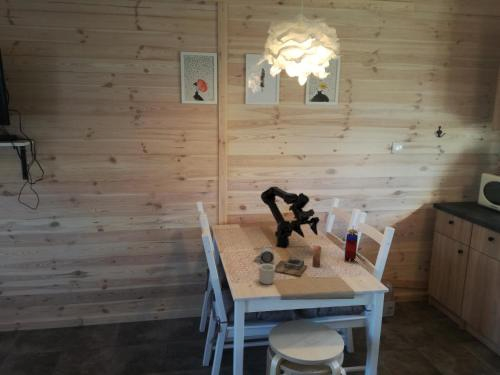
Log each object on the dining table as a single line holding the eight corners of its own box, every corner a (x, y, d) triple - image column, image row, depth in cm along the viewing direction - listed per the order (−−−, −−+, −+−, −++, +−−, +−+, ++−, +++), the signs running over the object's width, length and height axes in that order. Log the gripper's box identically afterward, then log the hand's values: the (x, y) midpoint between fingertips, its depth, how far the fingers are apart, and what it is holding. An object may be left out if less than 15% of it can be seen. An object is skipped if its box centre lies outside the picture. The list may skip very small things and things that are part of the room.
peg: (311, 266, 214) (312, 247, 212) (313, 264, 218) (314, 245, 215) (318, 268, 212) (320, 248, 210) (320, 265, 216) (321, 246, 214)
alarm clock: (355, 264, 219) (358, 229, 215) (339, 262, 221) (342, 228, 217) (356, 255, 233) (359, 222, 228) (341, 253, 235) (344, 220, 231)
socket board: (272, 271, 206) (272, 265, 206) (280, 262, 219) (280, 256, 218) (300, 277, 201) (300, 270, 200) (307, 267, 213) (307, 260, 213)
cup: (256, 276, 200) (257, 261, 199) (272, 276, 201) (273, 261, 199) (259, 285, 190) (259, 270, 188) (275, 285, 191) (276, 270, 189)
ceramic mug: (273, 258, 223) (273, 245, 221) (273, 264, 215) (274, 251, 213) (254, 258, 223) (254, 245, 222) (254, 264, 215) (254, 251, 214)
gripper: (291, 206, 216) (304, 230, 209) (318, 202, 226) (330, 226, 218) (283, 217, 224) (294, 241, 217) (308, 213, 234) (320, 236, 226)
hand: (310, 236), depth 219 cm, fingers open, 9 cm apart
